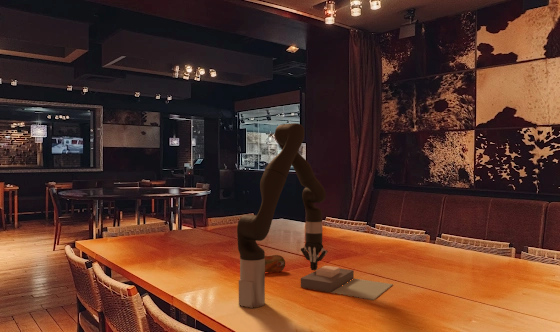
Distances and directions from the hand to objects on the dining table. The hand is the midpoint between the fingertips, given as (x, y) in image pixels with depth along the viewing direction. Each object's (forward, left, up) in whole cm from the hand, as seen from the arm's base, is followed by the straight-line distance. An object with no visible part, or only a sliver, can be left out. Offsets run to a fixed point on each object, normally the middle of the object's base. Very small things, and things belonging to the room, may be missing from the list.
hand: (314, 270), depth 191 cm
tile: (0, -7, -1) cm, 7 cm away
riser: (0, -7, -5) cm, 8 cm away
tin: (+2, +25, -5) cm, 26 cm away
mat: (0, -23, -5) cm, 24 cm away
